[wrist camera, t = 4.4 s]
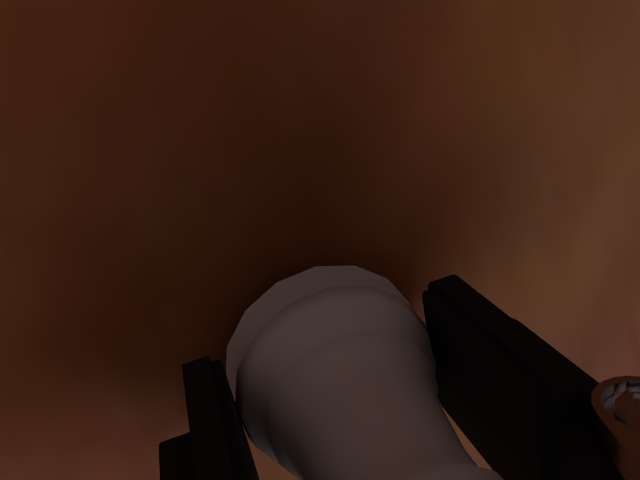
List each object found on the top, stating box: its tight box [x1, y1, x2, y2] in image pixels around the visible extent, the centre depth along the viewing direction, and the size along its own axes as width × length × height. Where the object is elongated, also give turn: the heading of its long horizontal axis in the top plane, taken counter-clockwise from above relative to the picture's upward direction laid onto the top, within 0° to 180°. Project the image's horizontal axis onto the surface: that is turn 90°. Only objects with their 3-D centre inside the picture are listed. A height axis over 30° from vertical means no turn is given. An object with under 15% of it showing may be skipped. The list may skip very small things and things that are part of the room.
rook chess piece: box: [226, 266, 504, 480], centre depth 9 cm, size 4×4×8 cm
